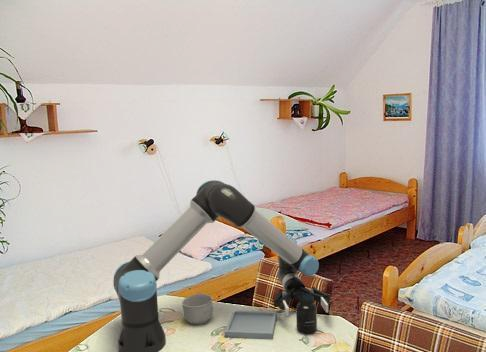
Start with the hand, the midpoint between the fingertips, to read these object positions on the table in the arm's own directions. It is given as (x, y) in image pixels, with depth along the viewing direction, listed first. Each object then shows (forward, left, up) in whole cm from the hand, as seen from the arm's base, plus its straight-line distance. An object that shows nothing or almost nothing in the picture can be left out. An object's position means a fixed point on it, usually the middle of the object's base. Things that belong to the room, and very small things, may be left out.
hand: (307, 310), depth 148 cm
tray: (-19, +1, -7) cm, 21 cm away
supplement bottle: (0, 0, -7) cm, 7 cm away
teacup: (-39, +6, -7) cm, 40 cm away
